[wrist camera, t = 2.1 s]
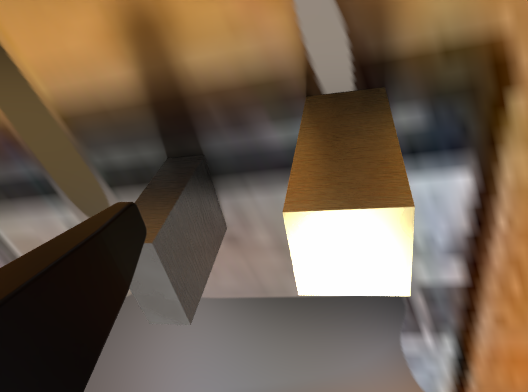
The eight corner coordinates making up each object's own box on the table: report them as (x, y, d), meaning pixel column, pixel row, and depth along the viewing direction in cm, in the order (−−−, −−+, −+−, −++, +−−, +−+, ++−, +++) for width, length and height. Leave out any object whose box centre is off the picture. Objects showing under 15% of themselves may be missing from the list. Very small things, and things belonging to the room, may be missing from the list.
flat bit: (204, 155, 23) (152, 243, 17) (226, 228, 27) (190, 324, 20) (167, 158, 24) (104, 244, 18) (194, 229, 27) (149, 323, 21)
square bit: (384, 87, 19) (414, 207, 11) (385, 155, 21) (409, 295, 13) (306, 96, 20) (282, 212, 12) (314, 161, 22) (298, 294, 14)
